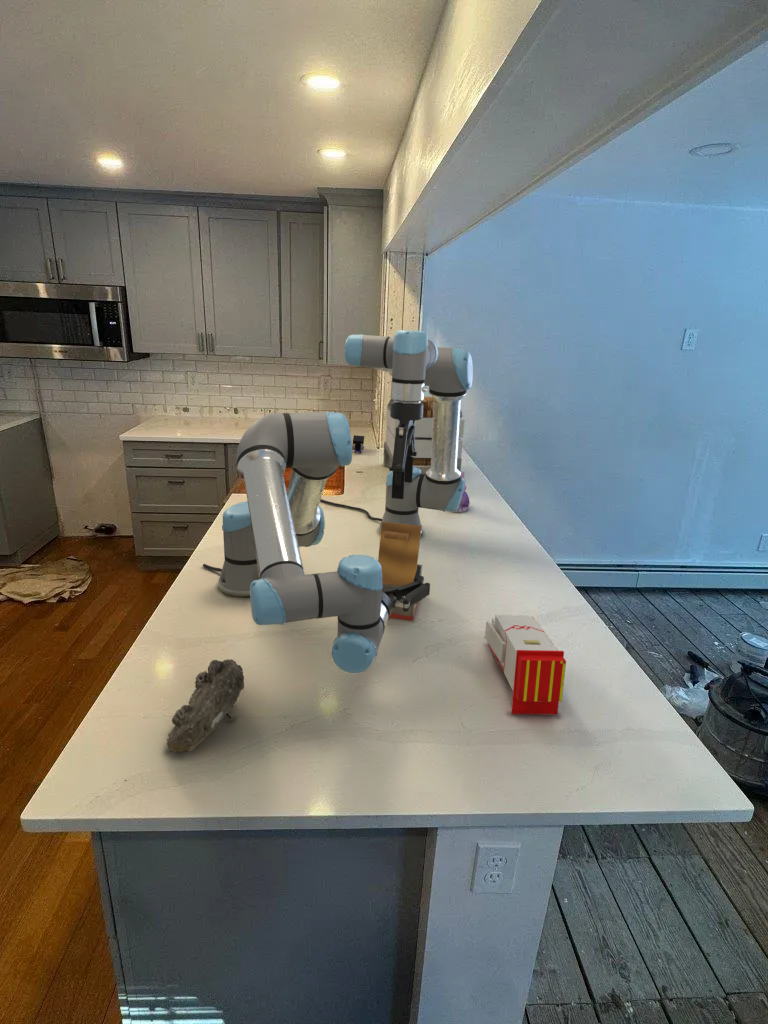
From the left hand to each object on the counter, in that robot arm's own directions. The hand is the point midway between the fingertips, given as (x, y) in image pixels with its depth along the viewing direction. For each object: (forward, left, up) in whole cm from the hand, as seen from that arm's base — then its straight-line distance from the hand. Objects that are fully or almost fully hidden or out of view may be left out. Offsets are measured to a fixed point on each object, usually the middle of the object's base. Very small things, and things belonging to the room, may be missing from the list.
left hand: (389, 568), depth 130 cm
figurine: (+11, +100, -19) cm, 103 cm away
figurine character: (-50, +180, -19) cm, 188 cm away
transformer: (-11, +148, -19) cm, 150 cm away
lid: (0, +13, -2) cm, 13 cm away
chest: (0, +18, -19) cm, 26 cm away
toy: (+31, -6, -19) cm, 37 cm away
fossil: (-27, -35, -19) cm, 48 cm away
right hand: (0, +13, +15) cm, 20 cm away
